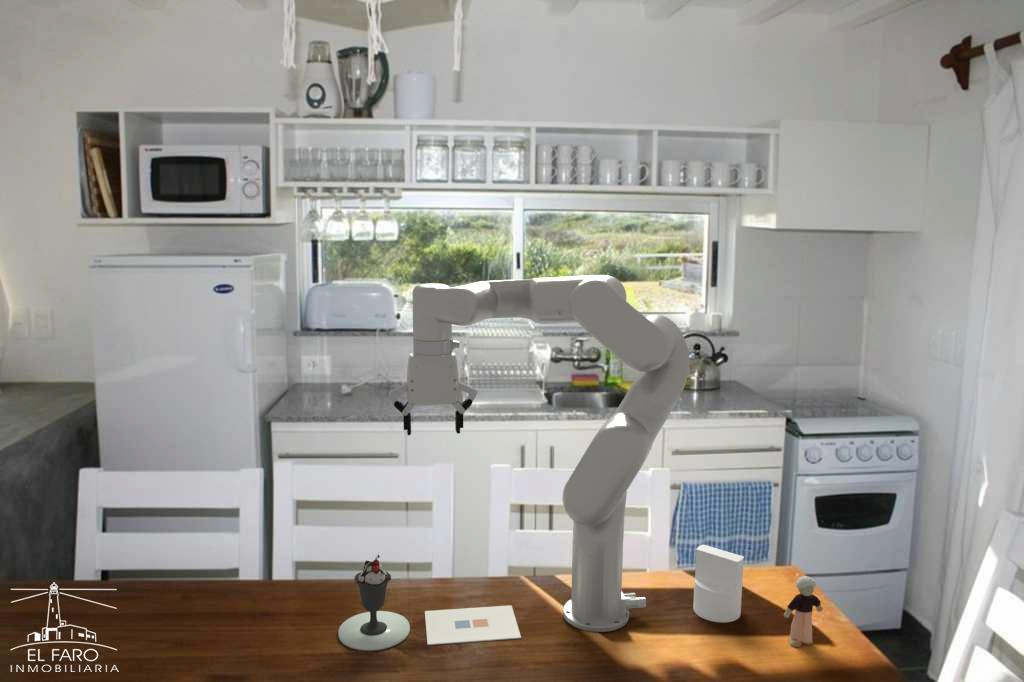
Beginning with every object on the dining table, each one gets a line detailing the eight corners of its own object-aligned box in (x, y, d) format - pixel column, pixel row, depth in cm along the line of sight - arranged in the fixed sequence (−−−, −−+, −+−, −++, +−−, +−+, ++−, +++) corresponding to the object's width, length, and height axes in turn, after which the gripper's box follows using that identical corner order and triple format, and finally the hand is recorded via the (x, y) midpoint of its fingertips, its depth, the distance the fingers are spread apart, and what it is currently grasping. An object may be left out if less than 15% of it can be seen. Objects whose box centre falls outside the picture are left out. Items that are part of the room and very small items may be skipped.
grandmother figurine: (795, 652, 145) (799, 585, 142) (778, 641, 148) (783, 576, 146) (825, 641, 148) (831, 576, 146) (809, 631, 151) (814, 567, 149)
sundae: (384, 640, 146) (382, 561, 144) (349, 635, 148) (347, 557, 146) (397, 622, 153) (396, 546, 150) (364, 617, 154) (362, 542, 152)
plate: (409, 611, 158) (409, 608, 158) (410, 647, 145) (410, 644, 145) (340, 616, 156) (340, 613, 156) (336, 653, 143) (336, 650, 143)
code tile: (511, 606, 160) (511, 605, 160) (521, 638, 149) (521, 637, 148) (424, 612, 158) (424, 610, 158) (427, 645, 146) (427, 644, 146)
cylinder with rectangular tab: (748, 609, 160) (751, 551, 158) (727, 627, 153) (731, 567, 151) (706, 595, 165) (709, 539, 163) (684, 611, 159) (687, 553, 157)
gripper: (475, 343, 163) (475, 425, 166) (387, 345, 161) (389, 428, 164) (478, 350, 156) (479, 436, 159) (387, 352, 153) (389, 439, 156)
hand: (433, 432), depth 161 cm, fingers open, 9 cm apart
